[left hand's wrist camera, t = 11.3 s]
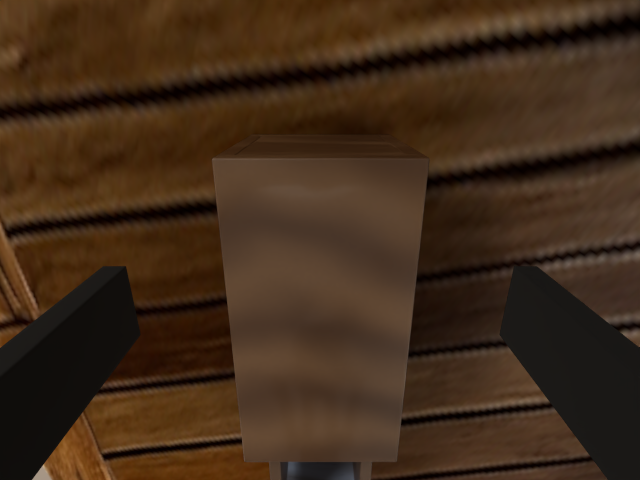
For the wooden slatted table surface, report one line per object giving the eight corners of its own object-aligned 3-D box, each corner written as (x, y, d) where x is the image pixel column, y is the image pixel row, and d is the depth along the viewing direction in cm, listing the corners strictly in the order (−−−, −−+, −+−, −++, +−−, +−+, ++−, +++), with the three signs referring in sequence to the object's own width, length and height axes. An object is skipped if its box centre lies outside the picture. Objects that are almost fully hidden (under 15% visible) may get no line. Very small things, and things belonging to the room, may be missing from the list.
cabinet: (374, 356, 34) (397, 462, 24) (266, 356, 34) (244, 462, 24) (389, 134, 27) (430, 157, 17) (251, 134, 27) (211, 158, 17)
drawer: (362, 482, 39) (373, 584, 31) (278, 482, 39) (267, 584, 31) (374, 281, 30) (394, 350, 22) (266, 281, 30) (246, 350, 22)
